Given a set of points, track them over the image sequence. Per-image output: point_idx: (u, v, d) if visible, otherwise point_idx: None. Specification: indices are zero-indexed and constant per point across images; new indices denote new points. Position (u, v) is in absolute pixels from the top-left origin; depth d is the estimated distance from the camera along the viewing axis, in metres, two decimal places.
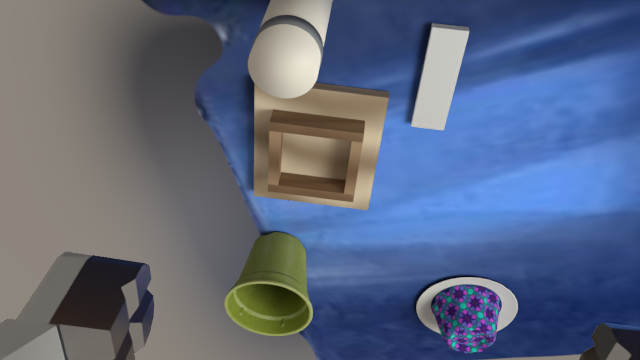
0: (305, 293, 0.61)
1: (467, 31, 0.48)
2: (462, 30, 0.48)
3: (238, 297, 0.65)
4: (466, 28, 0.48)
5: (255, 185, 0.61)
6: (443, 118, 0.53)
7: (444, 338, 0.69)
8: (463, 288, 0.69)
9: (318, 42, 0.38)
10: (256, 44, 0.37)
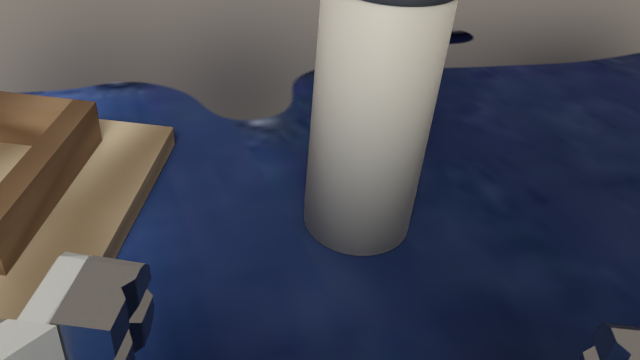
0: None
1: None
2: None
3: None
4: None
5: None
6: None
7: None
8: None
9: None
10: None
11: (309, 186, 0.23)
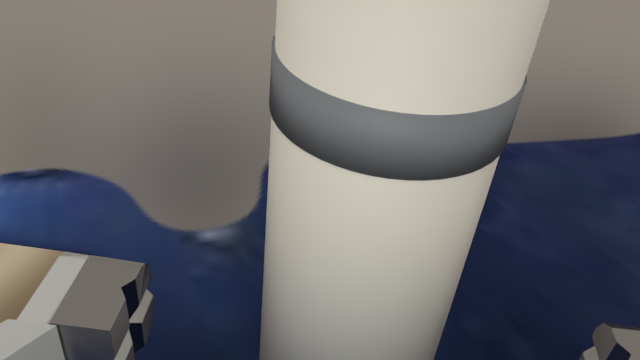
0: None
1: None
2: None
3: None
4: None
5: None
6: None
7: None
8: None
9: (466, 129, 0.09)
10: None
11: None
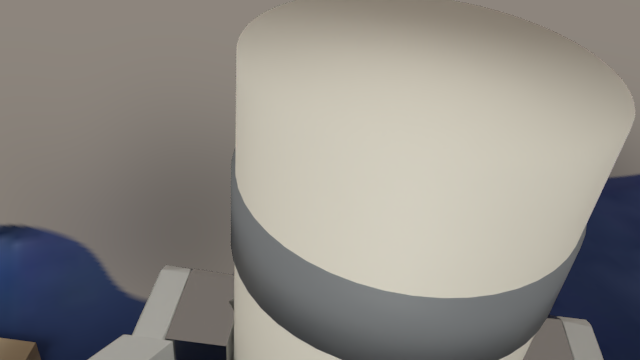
0: None
1: None
2: None
3: None
4: None
5: None
6: None
7: None
8: None
9: (507, 309, 0.06)
10: None
11: None
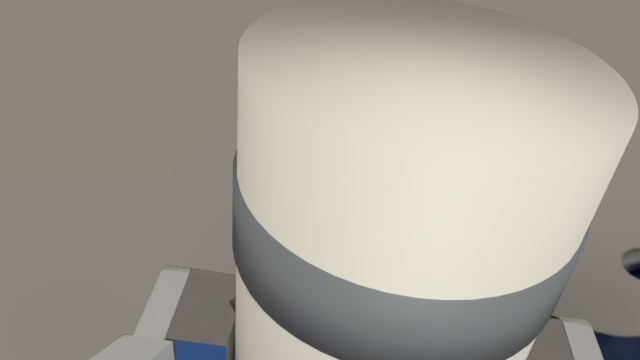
0: None
1: None
2: None
3: None
4: None
5: None
6: None
7: None
8: None
9: (510, 310, 0.06)
10: None
11: None
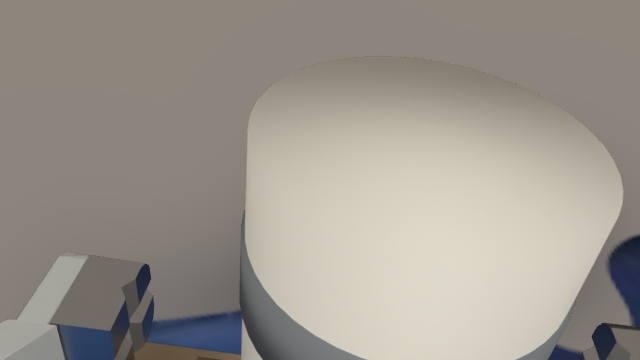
0: None
1: None
2: None
3: None
4: None
5: (174, 350, 0.20)
6: None
7: None
8: None
9: None
10: None
11: None
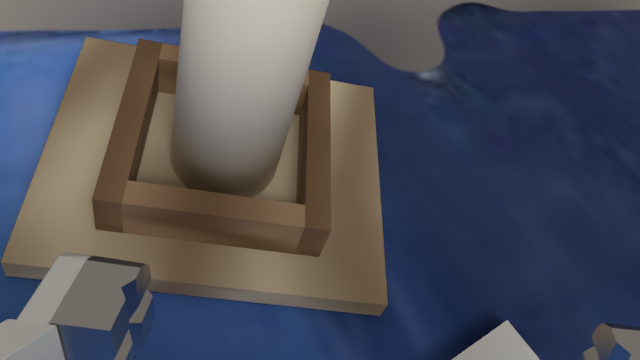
0: None
1: None
2: None
3: None
4: None
5: (117, 45, 0.28)
6: None
7: None
8: None
9: None
10: None
11: (175, 133, 0.23)
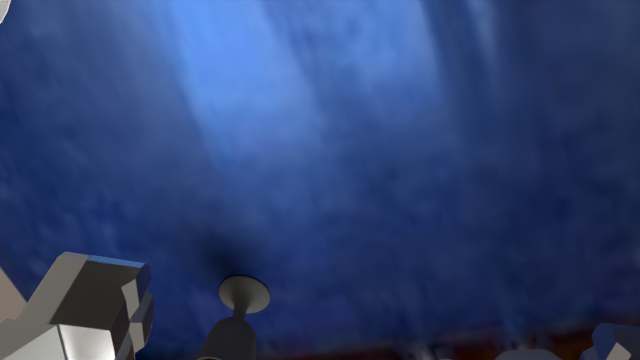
0: None
1: None
2: None
3: None
4: None
5: None
6: None
7: None
8: None
9: None
10: None
11: None
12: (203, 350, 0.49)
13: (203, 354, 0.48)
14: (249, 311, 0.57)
